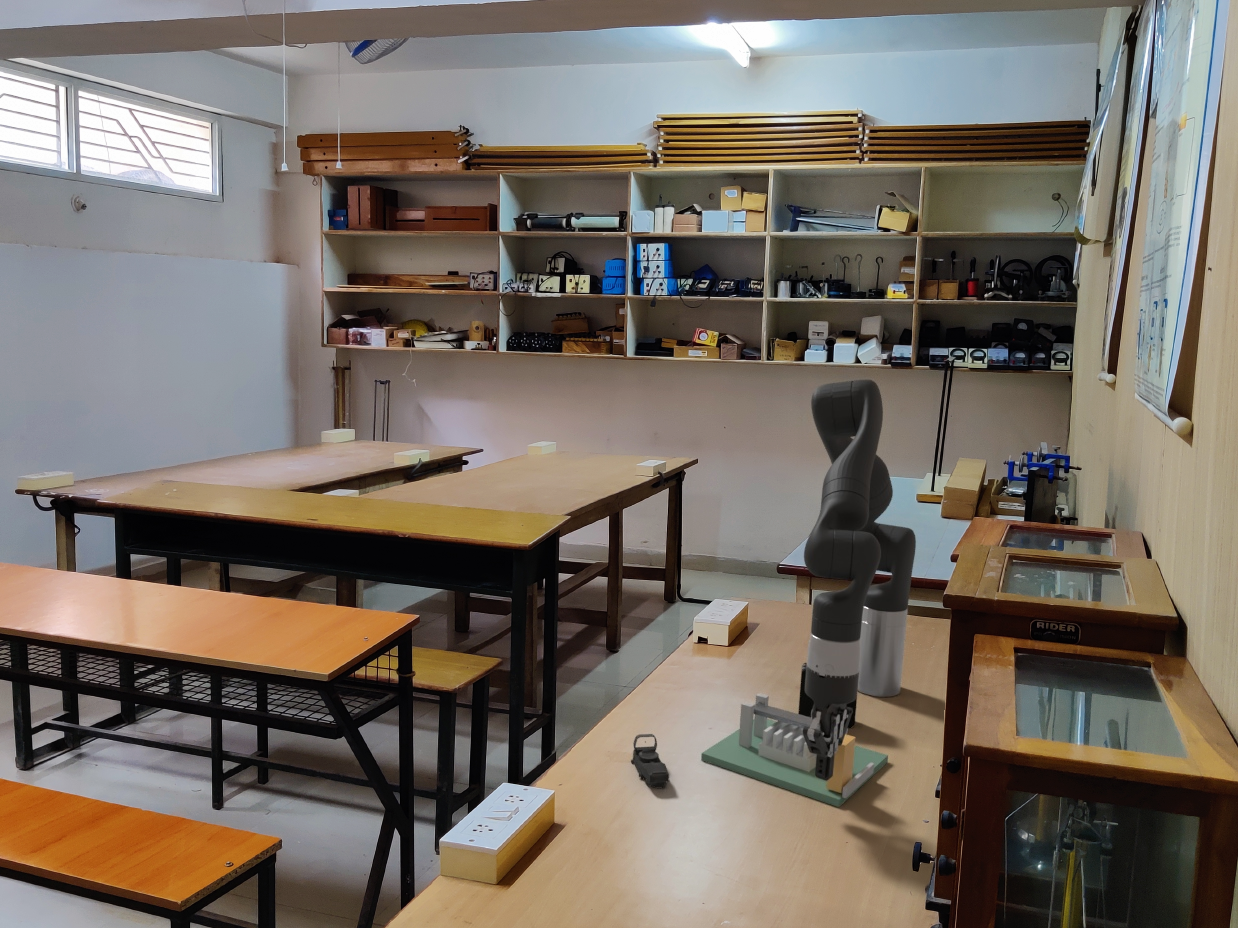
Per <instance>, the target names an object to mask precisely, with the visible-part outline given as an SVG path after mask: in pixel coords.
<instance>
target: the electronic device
mask: <svg viewBox="0 0 1238 928" xmlns="http://www.w3.org/2000/svg"><path fill="white" fill-rule="evenodd" d="M806 666H807V662H804V663H802V664H801V674H800V675H801V677H800V685H799V686H800V687H799V698H798V699H799V700H798V711H797V712H798V713H797V714H800V715H803V716H807V717H811V711H812V709H813V705H814V701H813V700H812V699H811V698H810V697H809V696H808V695H807V694H806V693H805V679H806ZM857 700H858V697H857V698H856V699H855V700H854V701H853V702H851V703H848V704H846V707H850V708H852V709H853V713H852V715H851V718H850V721H849V724H848V727H847V728H848V729H852V728H854V727H855V724H856V713H857V703H858V701H857Z"/></svg>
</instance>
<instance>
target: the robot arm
mask: <svg viewBox="0 0 1238 928" xmlns="http://www.w3.org/2000/svg"><path fill="white" fill-rule="evenodd" d="M810 402H811V403H810V404H811V405H810V407H811V414H812V418H813V422H814V424H815V427H816V430H817V432H818V435H819V437H820V440H821V443H822V444H823V447H824V449H825V451H826V453H827V454H828V457H829V460H830V463H831V465H830V467H829V468H828V470H827V472H826V475H824V479H823V483H822V490H821V503H820V510H819V511H820V512H819V515H818V517H817V520H816V522H815V524H814V526H813V528H812V529H811V532H810V534H809V536H808V538H807V540H806V543H805V547H804V550H803V561H804V565H805V567H806V568H807V570H808V572H809V573H811V574H812V575H814V576H815V577H820V578H826V579H838V580H847V581H851V582H850V584H849V585H848V586H847V587H845V588H843V589H840V590H833V591H832V590H831V591H826V592H821V593H819V594H817V595H815V597H814V599H813V605H812V613H811V614H812V615H811V626H810V627H811V628H810V636H809V641H808V646H807V655H806V663H807V666H806V679H805V693H806V694H807V695H808V696H809V697H810V698H811V699H812V700H813V701H814V705H813V709H812V711H811V719H812V724H811V726H810V727H807V726H805V727H804V728H803V736H804V738H805V741H806V744H807V746H808V749H809V752H810V753H813V754H817V756H816V768H815V776H816V777H817V778H820V779H823V780H826V781H827V780H829V779H830V778H831V777H832V776H833V768H834V756H835V754H836V753H837V750H838V745H839V746H841V745H842V743H843V740H844V737H845V734H846V731H847V727H848V724H849V721H850V718H851V715H852V713H853V709H852V708H850V707H846V704H848V703H851V702H853V701H854V700H855V699H856V698H857V699H858V692H860V693H862V694H865V695H869V696H874V697H881V698H884V697H885V698H886V697H887V698H888V697H894V696H897V695H899V694H900V693H901V686H902V685H901V684H902V674H903V664H904V656H905V643H906V642H905V641H906V631H907V621H908V609H909V599H910V593H911V592H910V591H911V584H912V582H911V581H912V575H913V567H914V562H915V557H916V548H917V545H916V543H917V540H916V534H915V532H914V530H913V529H912V528H909V527H904V526H898V525H897V526H896V525H892V524H886V523H878V522H876V520H878V518H880V517H881V515H883V514H884V512H886V510H887V509H888V507H889V506H890V504H891V502H892V500H893V496H894V495H893V494H894V493H893V492H894V489H893V485H892V481H891V477H890V473H889V469H888V467H887V465H886V463H885V461H884V460H883V459H882V458H881V457H880V456H879V455H877V451H878V446H879V444H880V443H879V442H880V438H881V437H880V436H881V433H882V427H883V419H884V418H883V416H884V411H883V410H884V408H883V407H884V406H883V398H882V395H881V391H880V389H879V386H878V384H877V383H876V382H875V381H874V380H871V379H854V380H847V381H838V382H830V383H825V384H821V385H818V386H817V387H816V388H815V389H814V390H813V392H812V394H811V400H810ZM877 571H878V572H883V573H890V574H891V578H890V580H889V581H885V582H882V583H877V584H872V582H873V581H874V578H875V576H876V575H875V574H876V572H877ZM871 584H872V585H871ZM846 735H847V734H846Z"/></svg>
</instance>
